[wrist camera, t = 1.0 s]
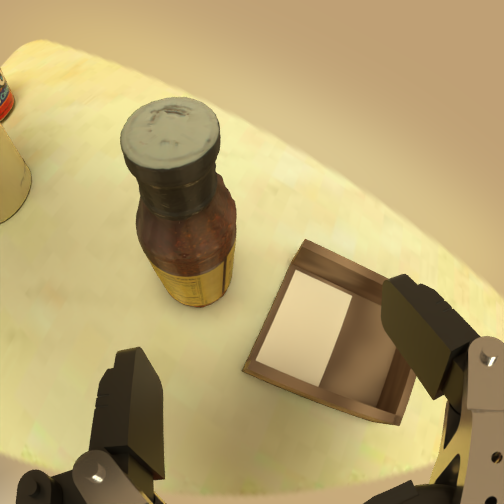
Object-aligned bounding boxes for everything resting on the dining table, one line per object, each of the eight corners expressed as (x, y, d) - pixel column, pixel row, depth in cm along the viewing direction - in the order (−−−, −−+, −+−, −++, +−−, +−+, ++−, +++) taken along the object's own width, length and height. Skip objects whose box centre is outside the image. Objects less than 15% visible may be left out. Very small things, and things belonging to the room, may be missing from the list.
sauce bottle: (196, 234, 32) (185, 58, 14) (244, 276, 31) (289, 117, 12) (148, 281, 29) (71, 130, 11) (196, 327, 28) (167, 219, 10)
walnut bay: (241, 371, 27) (247, 368, 23) (292, 260, 32) (305, 238, 27) (372, 421, 26) (399, 425, 22) (407, 314, 31) (434, 302, 26)
